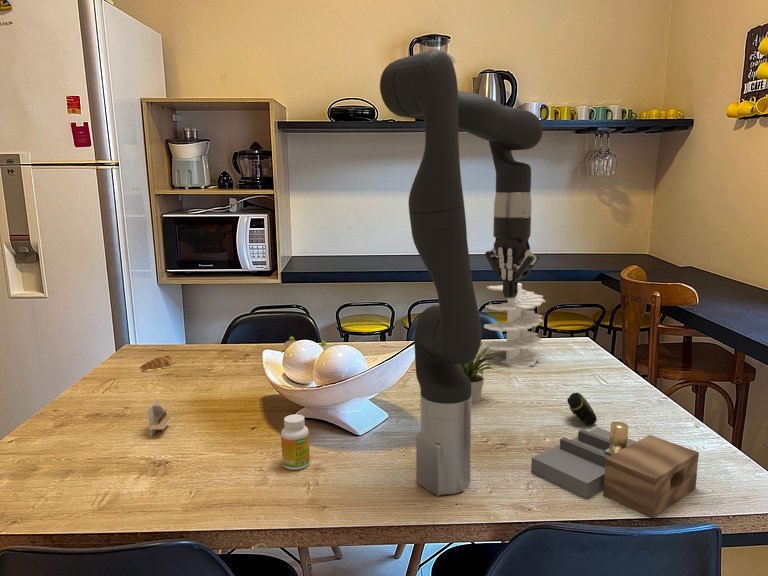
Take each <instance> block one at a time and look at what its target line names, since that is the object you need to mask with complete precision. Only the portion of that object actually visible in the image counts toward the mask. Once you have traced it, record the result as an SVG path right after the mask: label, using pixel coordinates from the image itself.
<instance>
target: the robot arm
mask: <svg viewBox="0 0 768 576" xmlns="http://www.w3.org/2000/svg"><path fill="white" fill-rule="evenodd" d="M457 78H458V77H457V72H456V69H455V66H454V62H453V60H452V59H451V58H450V56H449V54H447V53H446V52H445V51H443V50H441V49H432V50H428V51H423V52H421V53H417V54H412V55H410V56H404V57H402V58H398V59H396V60H393V61H392V62H390V63H389V64H388V65H386V66H385V68H384V69H383V71H382V73H381V76H380V81H379V92H380V95H381V96H380V97H381V100H382V101H383V103H384V105H385V107H386V108H387V109H388V110H389V111H390V112H391V113H392V114H394V115H395V116H398V117H401V118H407V119H416V120H423V121H424V131H425V132H424V134H425V137H424V138H425V140H424V141H425V142H424V151H423V155H422V158H421V161H420V164H419V167H418V169H417V171H416V175H415V177H414V180H413V183H412V185H411V188H410V191H409V195H408V211H409V212H408V214H409V221H410V229H411V237H412V240H413V244H414V246H415V249H416V250H417V252H418V255H419V256H420V258H421V261H422V262H423V265H424V266H425V267H426V268H425V269H427V271H428V273H429V275H430V277H431V279H432V281H433V284H434V288H435V289H436V293H437V299H438V305H431V306H428V307H426V308H425V309H424V310H423V311H422V312H421V313H420V315H419V317H418V318H417V321H416V324H415V326H414V327H415V328H414V339H413V340H414V341H413V342H414V360H415V361H414V364H415V373H416V374H415V376H416V379H417V382H418V384H419V387H420V389H419V390H420V433H418V434H417V435H416V437H415V439H416V441H415V445H416V446H415V447H416V450H415V453H416V454H415V455H416V460H415V461H416V463H415V464H416V465H415V466H416V469H415V472H416V473H415V474H416V476H415V478H416V479H415V480H416V483H417V484H418V485H419V486H422V488H424V489H426V490H428V491H429V492H431V493H433V494H434V495H436V496H438V497H440V496H441V495H451V494H452V495H453V494H457V493H461V492H463V491H465V490H466V489H468V488H469V486H470V483H471V445H472V444H471V441H472V440H471V438H472V437H471V436H472V434H471V433H472V428H471V427H472V404H471V381H470V379H469V378H468V377H467V375H466V374H465V373H464V372H463V371H462V370H461V368H460V367H459V365H458V364H467V363H469V362H471V361H472V360H473V359H474V358H475V357H476V358H477V356H478V355H477V353H478V354H479V351H480V349H481V347H480V345H481V343H482V324H481V323H482V322H481V319H480V314H479V313H480V312H479V308H478V303H477V298H476V293H475V289H474V284H473V283H474V282H473V278H472V269H471V261H470V254H469V246H468V245H469V244H468V235H467V233H468V232H467V221H466V220H467V219H466V218H467V217H466V211H465V210H466V208H465V200H464V193H463V185H462V176H461V175H462V173H461V162H460V160H461V159H460V148H459V147H460V146H459V145H460V144H459V130H460V131H463V132H465V133H468V134H471V135H473V136H475V137H477V138H480V139H483V140H485V141H488V145H489V148H490V151H491V156H492V160H493V165H494V169H495V197H494V202H493V237H494V238H495V241H494V243H493V248H491V250H488V251H485V257H486V259H487V260H488V263H489V264H490V267H491V268H492V270H493V273H494V274H495V275H496V276H497V277H498V276H499V277H500V278H501V279H502V285H503V291H502V294H503V297H504V298H507V299H508V298H514V297H516V295H517V293H518V283H519V280H520V279H524V278H527V276H528V275H529V274H530V272H531V271H532V270H533V268H534V267H535V265H537V263H538V261H539V259H540V257H539V255H537V254H534V253H533V252H532V251H531V246H530V243H529V239H530V237H531V231H532V230H531V228H532V196H531V193H532V192H531V191H532V168H531V165H530V164H528V163H525V162H522V161H516V160H515V158H514V156H513V154H512V151H521V150H522V151H525V150H531V149H533V148H534V147H536V146H537V145H538V144H539V142H541V140H542V137H543V125H542V122H541V120H540V119H539V117H538V116H537V115H536V114H535V113H533V112H532V111H529V110H526V109H521V108H517V107H512V106H506V105H503V104H502V103H500V102H498V101H496V100H494V99H492V98H490V97H488V96H486V95H483V94H479V93H476V92H475V93H474V92H469V91H462V90H459V89H458V79H457ZM481 346H482V345H481Z"/></svg>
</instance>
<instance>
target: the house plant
mask: <svg viewBox="0 0 768 576" xmlns="http://www.w3.org/2000/svg"><path fill="white" fill-rule="evenodd" d="M484 342H485V340H484V341H481V345H480V348H481V346H482V344H484ZM491 346H492V345H491ZM491 346H488V347H484V349H482V350H481V351H480V353H479V352H478V353H477V355H476V357H475V358H474V359H473V360H472V361H471V362H469V363H467V364H458V365H459V367H460V368H461V370H462V371H463V372H464V373H465V374H466V375H467V377H468V378H469V379H470V381H471V405H473V404H478V403H479V402H480V401H481V396H482V391H483V385H484V380H485V377H484V376H483V375H484V371H485V370H494V371H496V369H495V368H497V367H495V364H492V363H484V362H486V361H490V360H494V359H498V357H492V356H491V357H488V356H490V354H492V353H494V351H490V352H487V351H488V350H489V349H488V348H490V347H491Z"/></svg>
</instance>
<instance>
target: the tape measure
mask: <svg viewBox="0 0 768 576" xmlns="http://www.w3.org/2000/svg"><path fill="white" fill-rule="evenodd" d="M567 404H568V405H569V410H570V411H571V413H572V414H573V415H575V416H576V417H577V418H578V419H579V420H580V421H581V422H583V423H585V424H587V425H590V426H591V425H594V424H595V423H596V422H598V421H597V420H598V418H597V415H596V413H595V412H594V409H593V408H592V406H591V405H590V403H589V402H588V400H587V399H586V398H585V397H584V395H582V394H581V393H580V392H573V393H571V394H570V395H569V397H567Z"/></svg>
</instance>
